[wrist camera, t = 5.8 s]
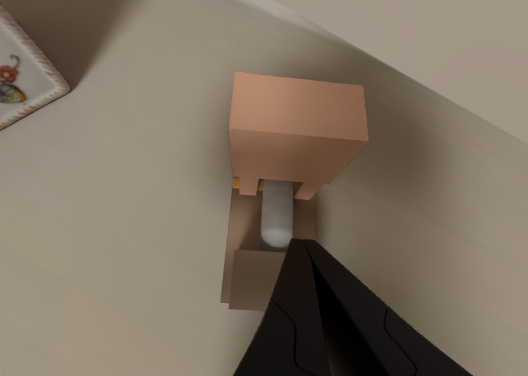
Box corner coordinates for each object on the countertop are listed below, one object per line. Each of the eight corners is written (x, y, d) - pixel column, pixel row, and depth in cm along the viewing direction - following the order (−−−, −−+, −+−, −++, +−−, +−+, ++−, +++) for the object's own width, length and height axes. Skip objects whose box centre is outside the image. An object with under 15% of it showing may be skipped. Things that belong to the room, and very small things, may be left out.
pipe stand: (312, 305, 18) (336, 314, 13) (221, 301, 17) (214, 308, 13) (310, 134, 23) (327, 98, 18) (239, 128, 22) (238, 89, 18)
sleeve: (314, 200, 19) (369, 141, 11) (234, 193, 18) (228, 128, 10) (314, 163, 20) (363, 85, 12) (237, 157, 19) (235, 72, 12)
